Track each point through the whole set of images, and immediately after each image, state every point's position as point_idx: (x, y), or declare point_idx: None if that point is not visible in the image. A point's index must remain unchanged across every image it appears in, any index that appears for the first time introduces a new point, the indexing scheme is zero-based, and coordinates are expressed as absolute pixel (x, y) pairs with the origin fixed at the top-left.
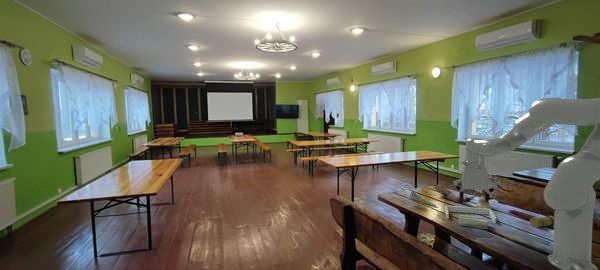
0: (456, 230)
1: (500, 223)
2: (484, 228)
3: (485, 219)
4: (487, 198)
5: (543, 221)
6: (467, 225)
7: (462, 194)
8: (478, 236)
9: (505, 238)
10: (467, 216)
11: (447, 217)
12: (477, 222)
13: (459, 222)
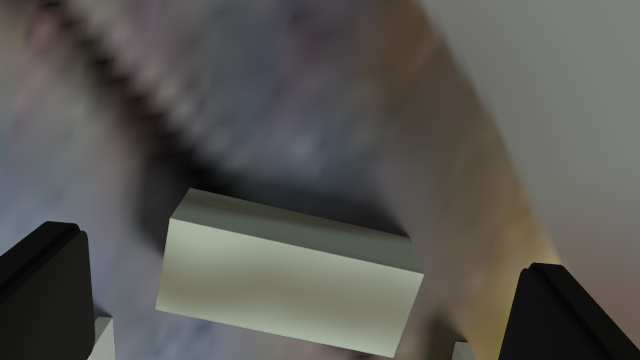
0: (464, 110)
1: None
2: (211, 194)
3: (176, 274)
4: (4, 265)
5: None
6: (341, 224)
7: (626, 352)
8: (303, 7)
9: (77, 12)
10: (326, 319)
11: (469, 351)
12: (259, 227)
13: (405, 247)
